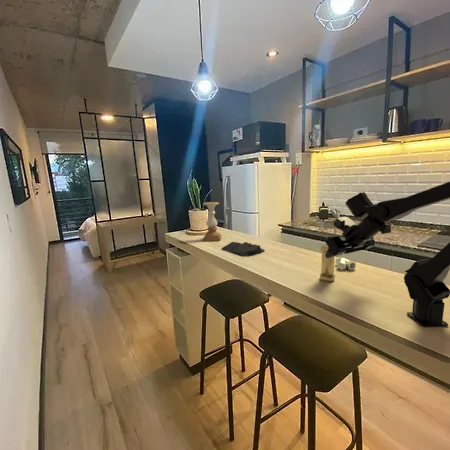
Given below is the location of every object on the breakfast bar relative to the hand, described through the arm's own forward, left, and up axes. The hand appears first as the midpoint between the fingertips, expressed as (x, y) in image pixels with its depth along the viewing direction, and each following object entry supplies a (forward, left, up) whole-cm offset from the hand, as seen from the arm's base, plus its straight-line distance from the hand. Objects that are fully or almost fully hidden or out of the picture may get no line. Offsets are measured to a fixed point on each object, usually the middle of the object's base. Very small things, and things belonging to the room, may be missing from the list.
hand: (335, 254), depth 95 cm
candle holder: (+76, +48, -11) cm, 91 cm away
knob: (+3, +1, -11) cm, 11 cm away
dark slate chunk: (+47, +31, -11) cm, 57 cm away
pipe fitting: (+16, -10, -11) cm, 22 cm away
